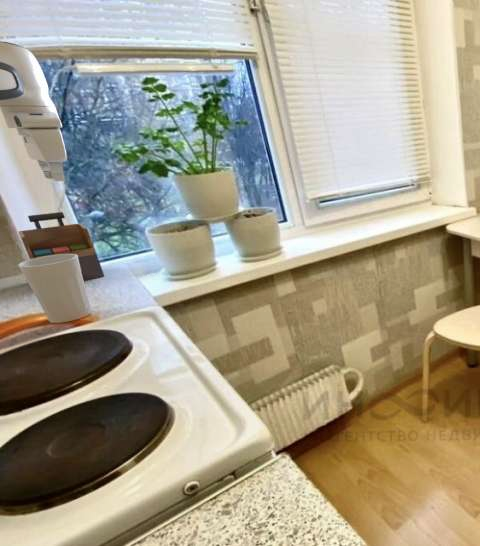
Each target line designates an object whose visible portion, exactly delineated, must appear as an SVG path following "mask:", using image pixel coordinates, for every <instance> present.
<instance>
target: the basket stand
mask: <svg viewBox="0 0 480 546" xmlns="http://www.w3.org/2000/svg"><path fill="white" fill-rule="evenodd" d="M78 259H79V264H80V268H81V273H82V277H83V281H87V280H93V279H98V278H102V277H105V273H104V271H103V268H102V265H101V263H100V260H99V257H98V253H96V254H94V255H88V256H83V257H78Z"/></svg>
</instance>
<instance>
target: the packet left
mask: <svg viewBox="0 0 480 546" xmlns="http://www.w3.org/2000/svg"><path fill="white" fill-rule="evenodd" d="M33 253H34V255H35V257H40V256H47V255H53V254H52V252H51V250H50V249H44V250H38V251H33Z"/></svg>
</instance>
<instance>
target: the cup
mask: <svg viewBox="0 0 480 546" xmlns="http://www.w3.org/2000/svg"><path fill="white" fill-rule="evenodd" d="M17 266H18V267H19V269H20V271H21V273H22V274H23V276H24V278H25V280H26V281H27V283H28V285H29V287H30V288H31V290H32V292H33V294H34V296H35V298H36V299H37V301H38V303H39V304H40V307H41V309H42V310H43V312H44V314H45V315H46V318H47V320H48V322H49V321H50V322H49V323H50V324H51V323H52V324H60V323H67V322H73V321H76V320H79V319H83V318H86V317H87V316H89V315H91V314H92V313H93V307H91V304H90V300H89V296H88V293H87V288H86V285H85V282H84V281H85V280H84V281H83V277H82V273H81V268H80V264H79V259H78V255H76V254H59V255H51V256H45V257H39V258H35V259H31V260H30V259H27V260H25V261H21V262H19V263H18V264H17Z"/></svg>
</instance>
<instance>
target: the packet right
mask: <svg viewBox="0 0 480 546" xmlns="http://www.w3.org/2000/svg"><path fill="white" fill-rule="evenodd" d="M69 248H70V250H71V251H77V250H83V249H88V248H87V246H86V245H85V244H84V243H82V244H76V245H69Z"/></svg>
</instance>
